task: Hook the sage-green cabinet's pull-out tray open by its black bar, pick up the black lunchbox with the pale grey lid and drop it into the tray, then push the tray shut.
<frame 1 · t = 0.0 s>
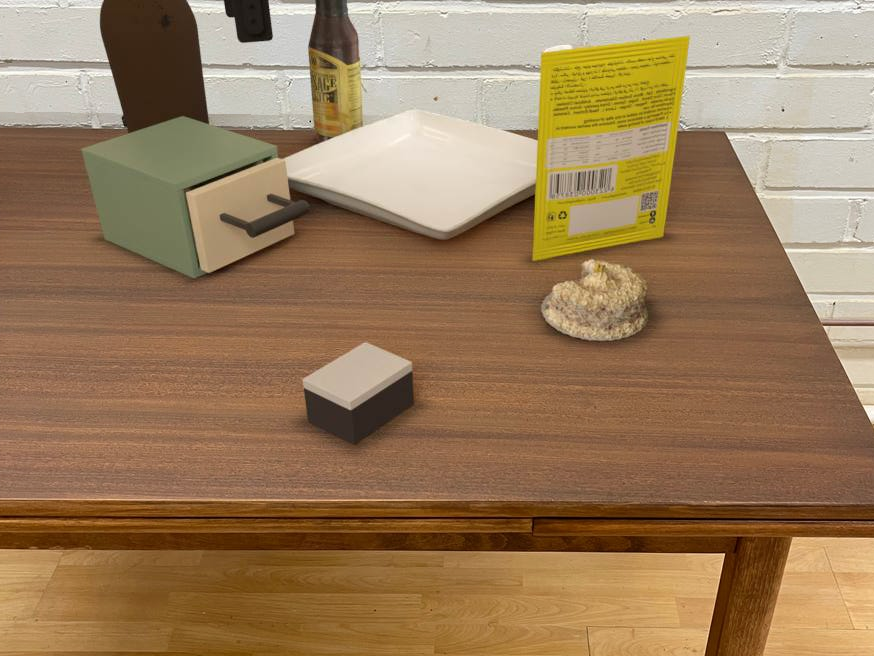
hand: (248, 27, 92), 20 cm above the table, tool pointing down, fingers open, 9 cm apart
cake: (594, 316, 88), on the table
lunchbox: (361, 413, 76), on the table
rounded brown slab: (175, 161, 118), on the table
drawer: (219, 205, 95), point 5 cm above the table, slide at 0.5 cm
square plate: (428, 191, 111), on the table
sauce bottle: (341, 144, 123), on the table
food package: (599, 250, 99), on the table
cabinet: (196, 237, 101), on the table
plastic cup: (580, 158, 120), on the table
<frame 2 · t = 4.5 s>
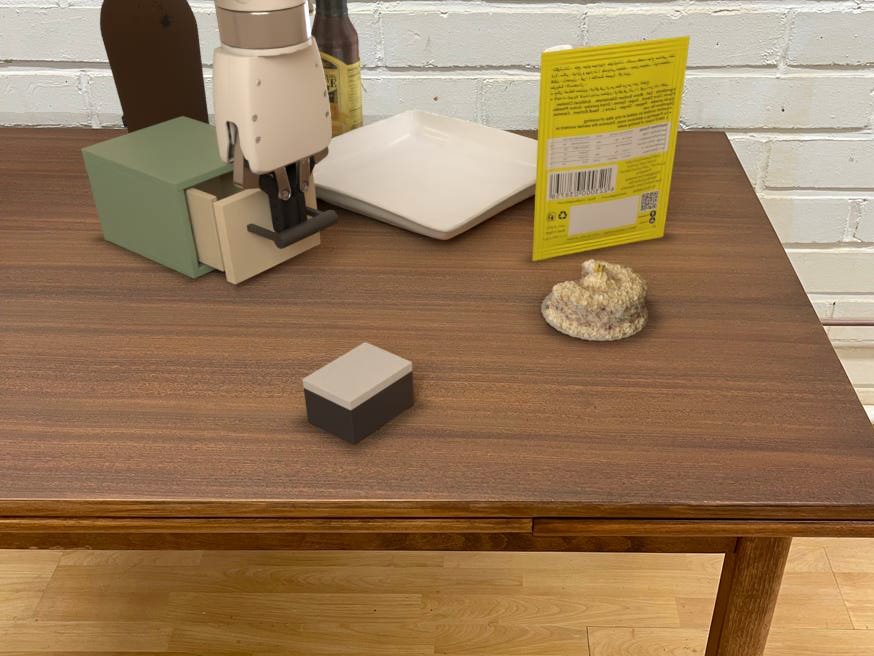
hand: (291, 232, 91), 5 cm above the table, tool pointing down, fingers closed
drawer: (245, 215, 94), point 5 cm above the table, slide at 4.3 cm, touching gripper
everything else where it was.
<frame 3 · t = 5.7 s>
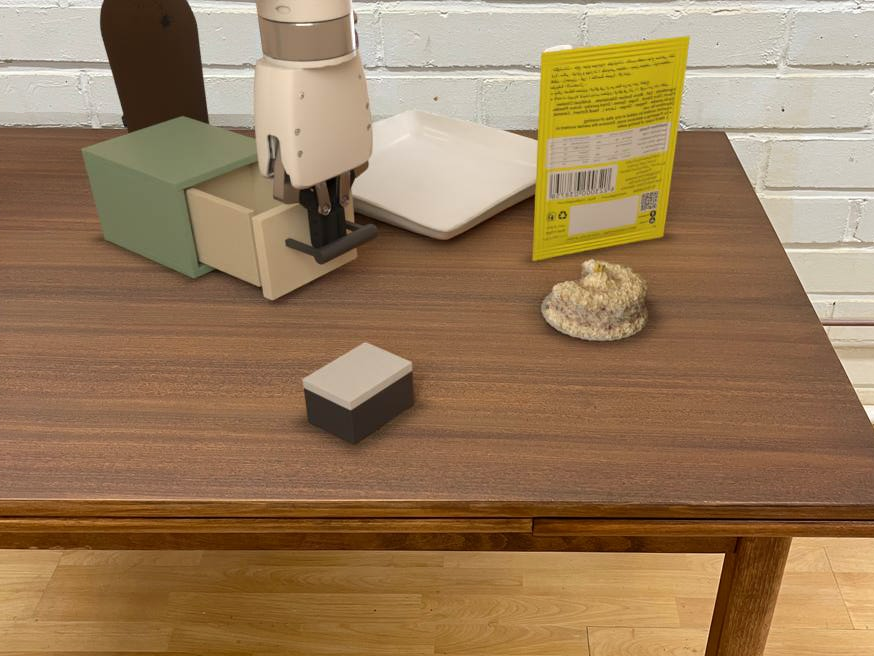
hand: (329, 248, 88), 5 cm above the table, tool pointing down, fingers closed
drawer: (281, 228, 91), point 5 cm above the table, slide at 9.5 cm
everything else where it was.
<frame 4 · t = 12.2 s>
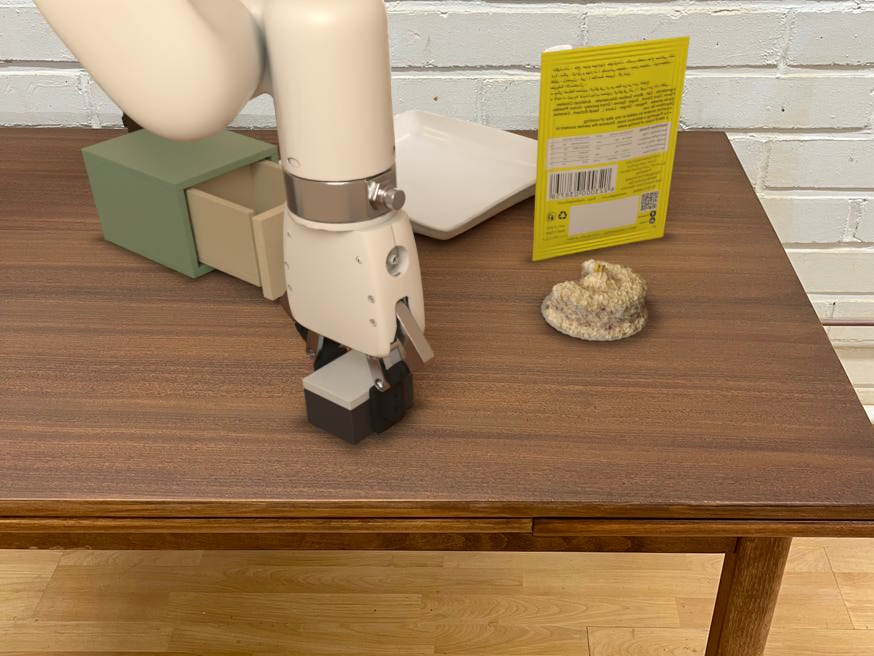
hand: (361, 408, 75), 0 cm above the table, tool pointing down, fingers closed on lunchbox, 5 cm apart
lunchbox: (361, 413, 76), on the table, touching gripper
everything else where it was.
when the fingers open (7 cm above the table, at t = 18.6 s): lunchbox drops 5 cm, resting on drawer.
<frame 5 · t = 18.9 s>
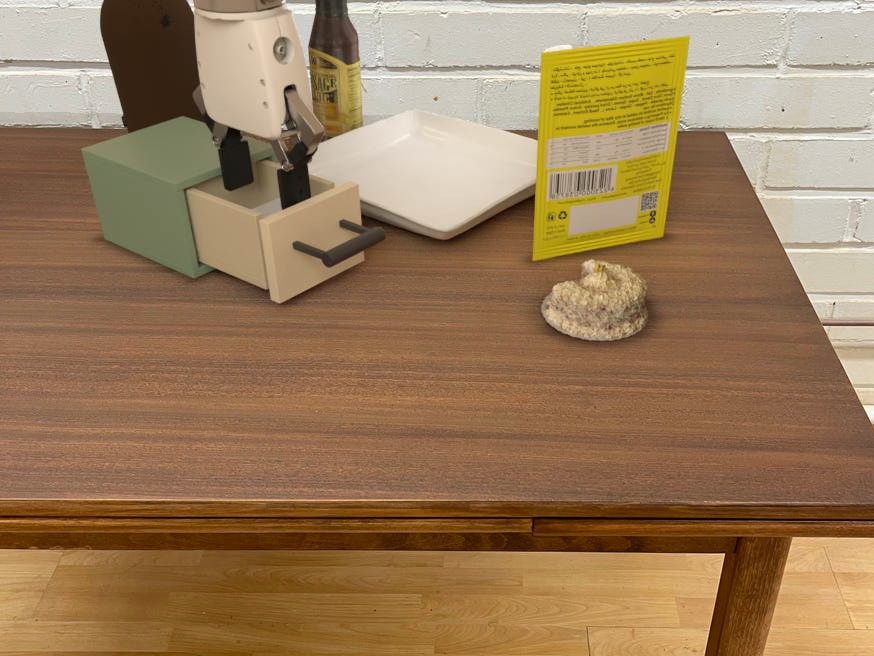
hand: (267, 195, 90), 8 cm above the table, tool pointing down, fingers open, 7 cm apart
lunchbox: (277, 253, 93), point 2 cm above the table, touching drawer
drawer: (288, 231, 91), point 5 cm above the table, slide at 10.5 cm, touching gripper, lunchbox
everything else where it was.
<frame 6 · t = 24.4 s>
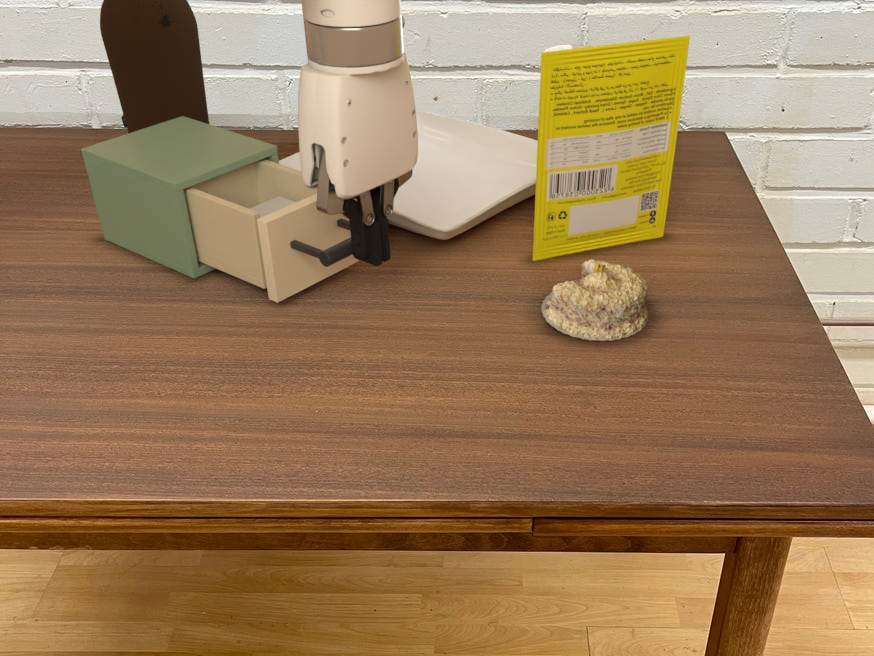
hand: (371, 258, 86), 5 cm above the table, tool pointing down, fingers closed
drawer: (286, 230, 91), point 5 cm above the table, slide at 10.1 cm, touching gripper, lunchbox
everything else where it was.
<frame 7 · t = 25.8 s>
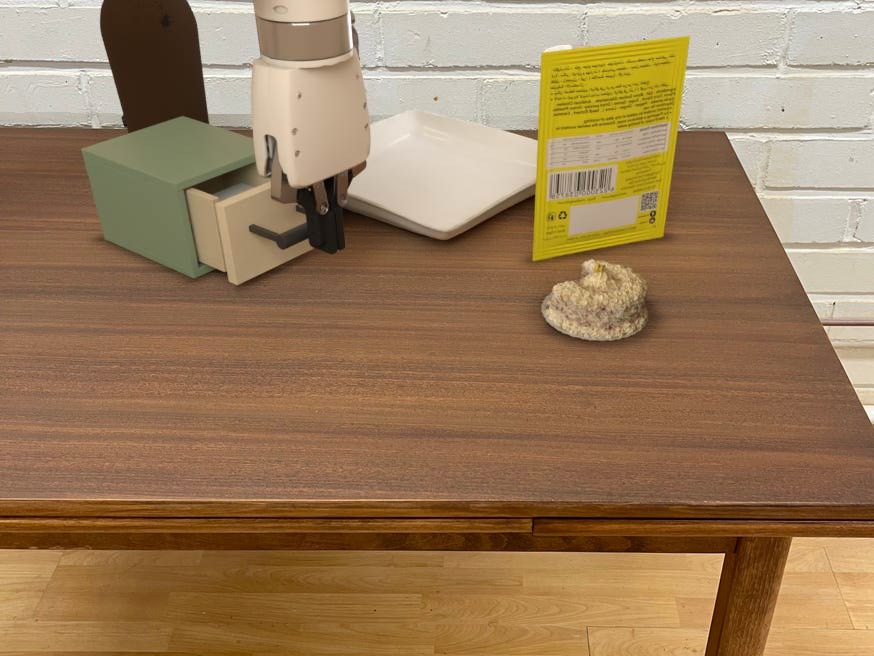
hand: (327, 247, 88), 5 cm above the table, tool pointing down, fingers closed
lunchbox: (237, 237, 96), point 2 cm above the table, touching drawer
drawer: (247, 215, 94), point 5 cm above the table, slide at 4.6 cm, touching gripper, lunchbox
everything else where it was.
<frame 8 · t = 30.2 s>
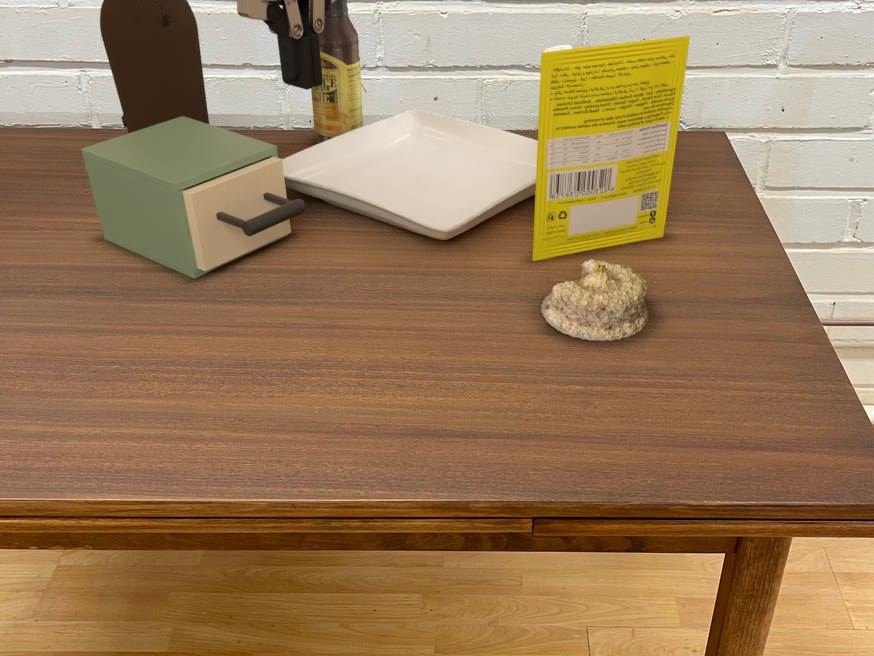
hand: (302, 83, 80), 19 cm above the table, tool pointing down, fingers closed
lunchbox: (207, 225, 98), point 2 cm above the table, touching drawer
drawer: (216, 204, 96), point 5 cm above the table, slide at 0.0 cm, touching cabinet, lunchbox
everything else where it was.
at the end: drawer pulled out 10.8 cm at the most during the clip, back to where it started at the end; lunchbox inside the target area in the cabinet (2.3 cm from its centre), point 2.0 cm above the cabinet's base; drawer slide at 0.0 cm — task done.
